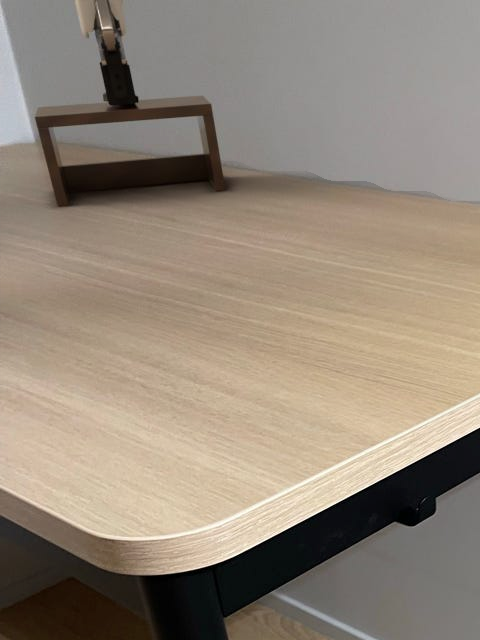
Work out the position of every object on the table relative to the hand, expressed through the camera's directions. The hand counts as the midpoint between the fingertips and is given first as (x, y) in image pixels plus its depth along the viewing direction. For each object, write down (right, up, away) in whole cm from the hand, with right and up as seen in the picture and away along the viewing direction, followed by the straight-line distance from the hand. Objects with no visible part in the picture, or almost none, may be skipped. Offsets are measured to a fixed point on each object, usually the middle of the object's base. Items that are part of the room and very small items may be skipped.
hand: (121, 100), depth 120 cm
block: (0, -1, +1) cm, 1 cm away
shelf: (0, -8, +6) cm, 10 cm away
